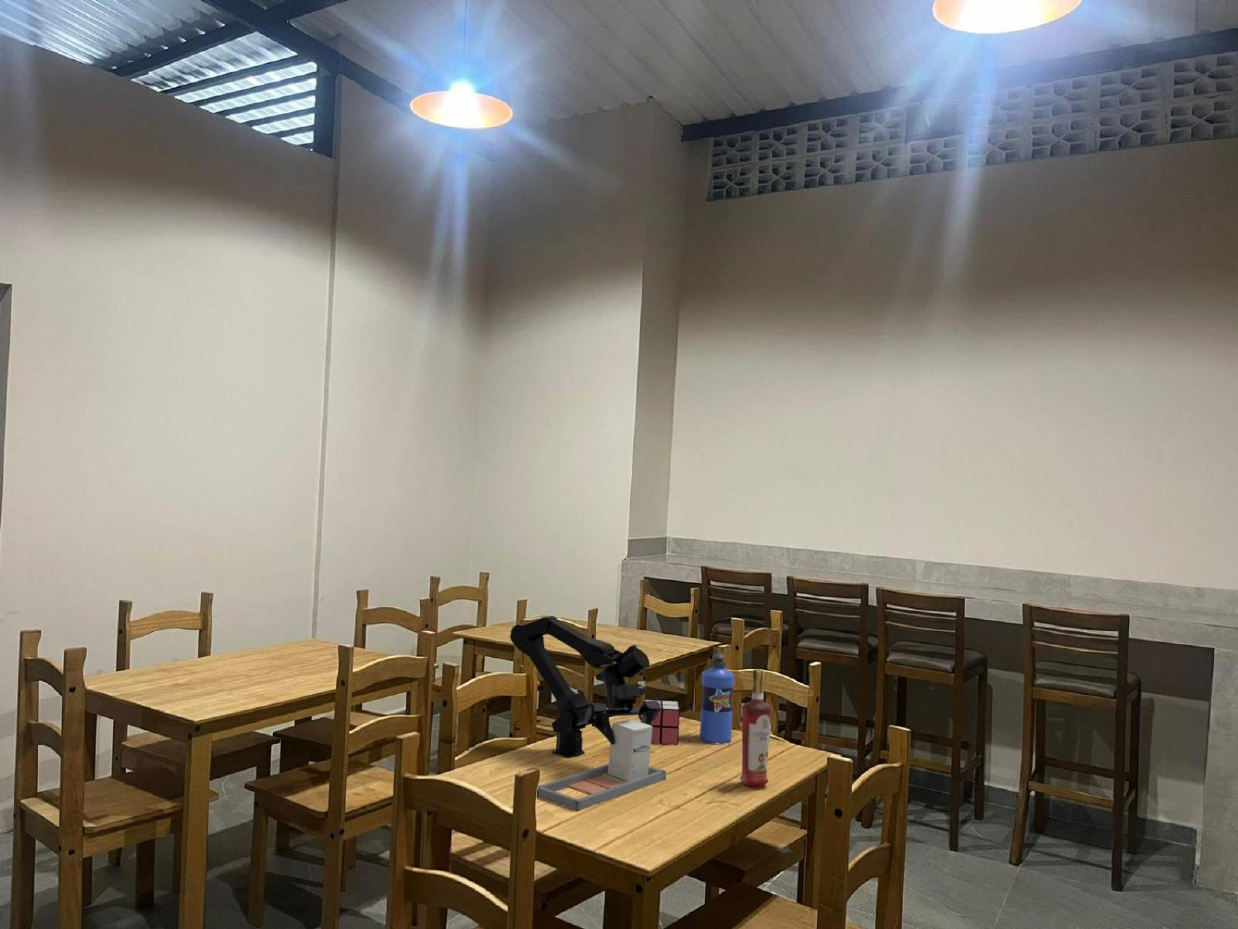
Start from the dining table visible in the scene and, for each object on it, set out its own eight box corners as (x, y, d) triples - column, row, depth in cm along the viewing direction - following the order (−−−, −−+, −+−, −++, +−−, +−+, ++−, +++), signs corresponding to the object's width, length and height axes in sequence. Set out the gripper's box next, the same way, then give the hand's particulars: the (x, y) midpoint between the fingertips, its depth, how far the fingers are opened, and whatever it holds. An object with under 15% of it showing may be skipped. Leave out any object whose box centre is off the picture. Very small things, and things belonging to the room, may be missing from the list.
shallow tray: (534, 795, 205) (534, 787, 205) (623, 766, 230) (623, 759, 230) (578, 811, 196) (578, 802, 196) (665, 779, 221) (666, 771, 221)
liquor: (759, 779, 225) (764, 666, 226) (774, 788, 218) (779, 672, 219) (733, 781, 222) (738, 667, 223) (748, 791, 215) (753, 673, 216)
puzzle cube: (678, 745, 252) (679, 709, 252) (642, 743, 252) (644, 707, 252) (676, 736, 262) (678, 701, 262) (642, 734, 262) (643, 699, 262)
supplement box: (628, 782, 216) (633, 730, 216) (606, 773, 221) (611, 722, 221) (649, 777, 221) (653, 725, 221) (627, 768, 226) (631, 718, 226)
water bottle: (695, 735, 263) (699, 649, 264) (726, 735, 265) (729, 650, 265) (704, 744, 254) (708, 655, 255) (735, 744, 256) (739, 656, 256)
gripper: (591, 671, 222) (605, 727, 212) (659, 669, 229) (676, 723, 219) (579, 695, 229) (591, 751, 219) (645, 693, 236) (661, 747, 226)
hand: (631, 743), depth 220 cm, fingers open, 9 cm apart
